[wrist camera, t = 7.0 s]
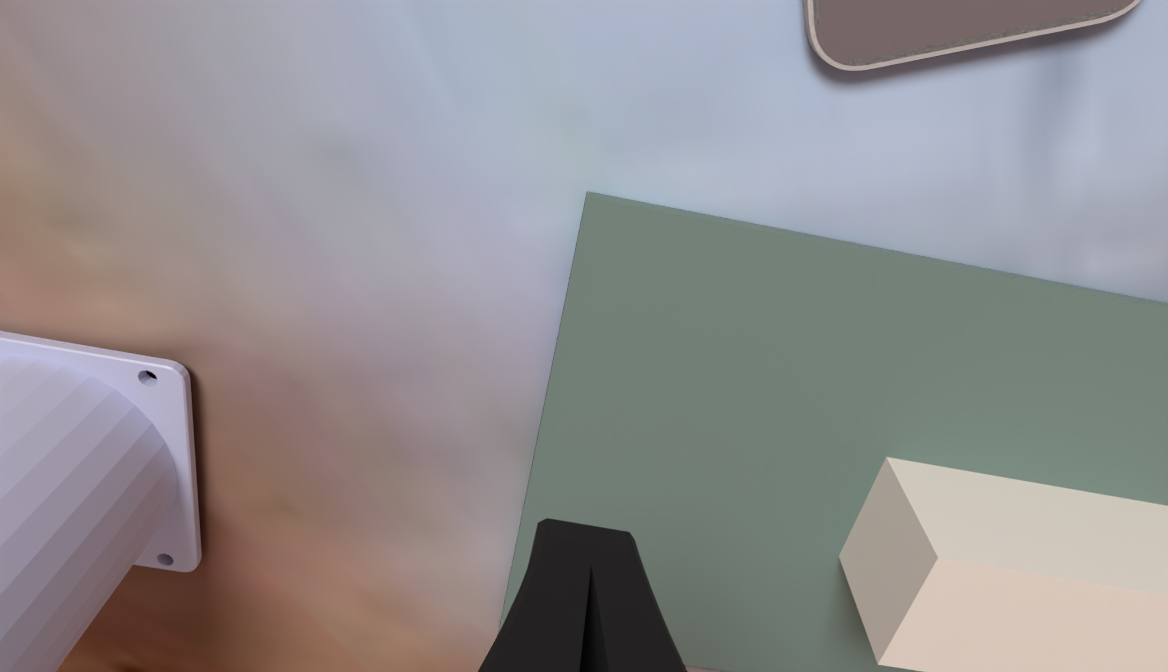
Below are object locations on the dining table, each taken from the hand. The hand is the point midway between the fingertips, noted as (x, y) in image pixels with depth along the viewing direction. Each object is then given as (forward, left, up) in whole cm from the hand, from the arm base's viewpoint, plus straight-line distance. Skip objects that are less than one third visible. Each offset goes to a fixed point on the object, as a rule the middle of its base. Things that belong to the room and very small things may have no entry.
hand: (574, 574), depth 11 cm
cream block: (+10, -6, -8) cm, 14 cm away
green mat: (+11, -6, -10) cm, 16 cm away
